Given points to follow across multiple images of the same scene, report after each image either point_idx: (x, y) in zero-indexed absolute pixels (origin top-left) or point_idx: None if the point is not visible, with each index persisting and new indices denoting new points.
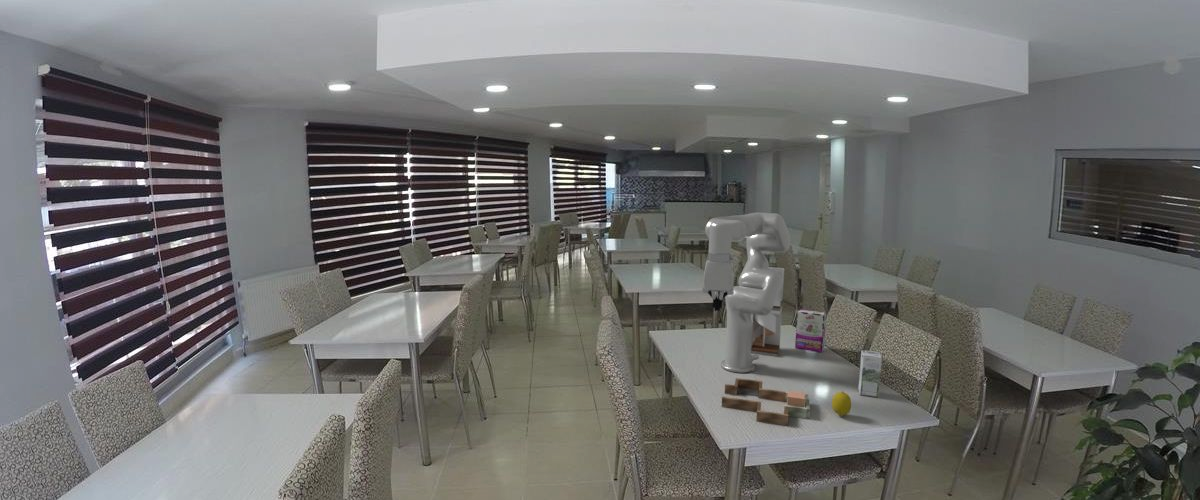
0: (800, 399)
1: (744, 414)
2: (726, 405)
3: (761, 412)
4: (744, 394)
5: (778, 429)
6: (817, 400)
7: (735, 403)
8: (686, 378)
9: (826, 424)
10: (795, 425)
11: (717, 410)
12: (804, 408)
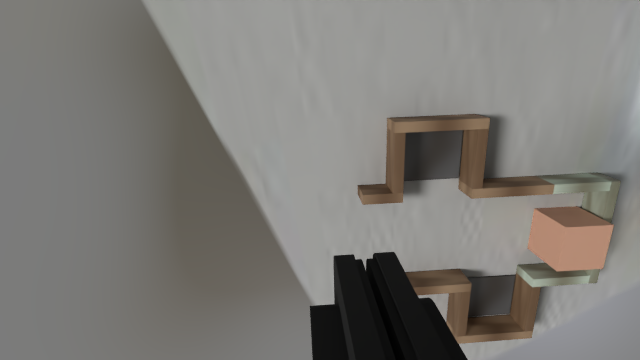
0: (589, 268)
1: None
2: None
3: (467, 342)
4: (417, 179)
5: (492, 344)
6: (632, 139)
7: None
8: (209, 110)
9: (609, 282)
10: None
11: None
12: (583, 282)
